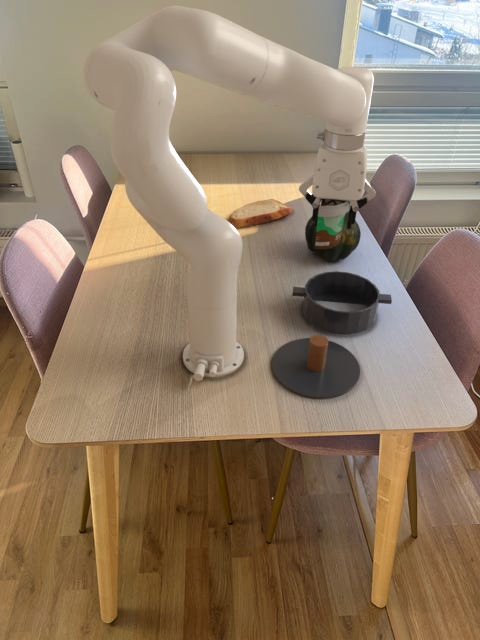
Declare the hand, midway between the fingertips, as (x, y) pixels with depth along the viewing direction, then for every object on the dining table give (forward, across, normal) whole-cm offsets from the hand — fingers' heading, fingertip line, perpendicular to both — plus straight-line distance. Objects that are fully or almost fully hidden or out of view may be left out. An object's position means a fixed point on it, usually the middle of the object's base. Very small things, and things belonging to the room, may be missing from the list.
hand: (332, 224), depth 109 cm
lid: (+21, -1, -22) cm, 31 cm away
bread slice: (+21, -20, +45) cm, 53 cm away
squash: (+21, +1, +26) cm, 34 cm away
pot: (+21, +4, -2) cm, 22 cm away
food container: (+4, 0, 0) cm, 4 cm away
